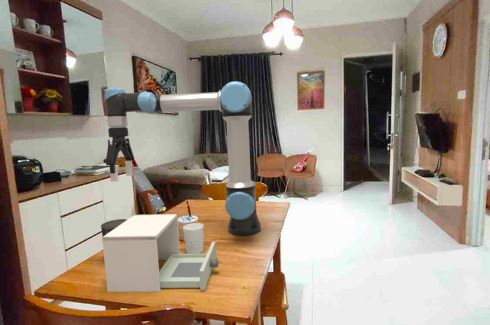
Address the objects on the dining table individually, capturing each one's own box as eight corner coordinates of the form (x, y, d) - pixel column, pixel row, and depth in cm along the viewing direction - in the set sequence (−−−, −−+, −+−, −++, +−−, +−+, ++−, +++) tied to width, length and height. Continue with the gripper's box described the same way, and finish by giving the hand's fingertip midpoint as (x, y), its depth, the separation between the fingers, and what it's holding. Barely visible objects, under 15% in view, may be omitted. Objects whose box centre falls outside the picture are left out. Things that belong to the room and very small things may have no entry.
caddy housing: (180, 258, 113) (177, 213, 111) (159, 291, 91) (155, 236, 89) (138, 259, 114) (134, 214, 112) (107, 291, 92) (102, 237, 90)
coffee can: (100, 267, 109) (96, 228, 107) (110, 254, 119) (106, 219, 117) (129, 264, 110) (126, 226, 108) (137, 253, 120) (134, 218, 118)
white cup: (188, 257, 114) (186, 231, 113) (182, 249, 121) (180, 225, 120) (208, 252, 118) (206, 227, 117) (201, 245, 125) (199, 221, 124)
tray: (222, 257, 112) (222, 241, 111) (212, 290, 90) (211, 271, 89) (173, 257, 113) (171, 242, 112) (150, 290, 91) (149, 271, 90)
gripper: (122, 127, 138) (127, 173, 140) (92, 127, 113) (97, 184, 116) (139, 126, 137) (142, 173, 140) (111, 127, 112) (117, 183, 115)
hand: (122, 178), depth 128 cm, fingers open, 13 cm apart
